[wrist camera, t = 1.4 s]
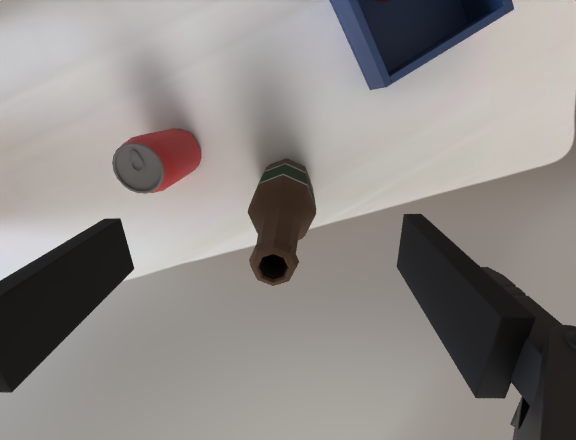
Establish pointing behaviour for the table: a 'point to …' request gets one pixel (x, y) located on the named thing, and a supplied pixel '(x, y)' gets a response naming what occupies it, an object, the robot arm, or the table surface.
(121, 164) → the beer can
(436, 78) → the table surface
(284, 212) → the beer bottle
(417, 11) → the box
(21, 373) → the robot arm
